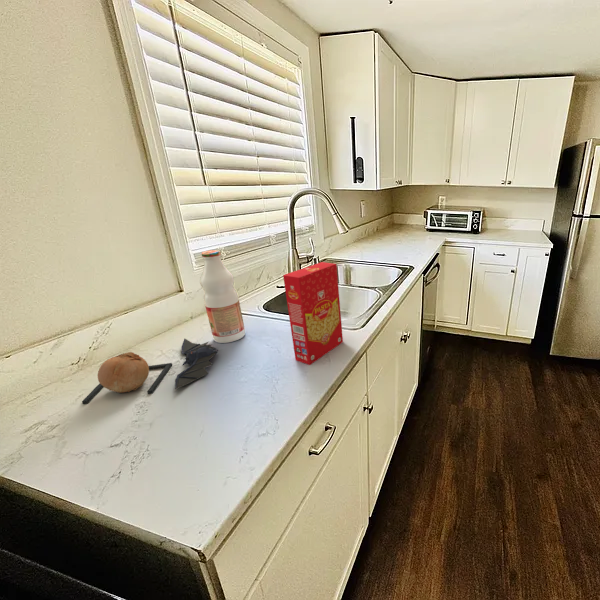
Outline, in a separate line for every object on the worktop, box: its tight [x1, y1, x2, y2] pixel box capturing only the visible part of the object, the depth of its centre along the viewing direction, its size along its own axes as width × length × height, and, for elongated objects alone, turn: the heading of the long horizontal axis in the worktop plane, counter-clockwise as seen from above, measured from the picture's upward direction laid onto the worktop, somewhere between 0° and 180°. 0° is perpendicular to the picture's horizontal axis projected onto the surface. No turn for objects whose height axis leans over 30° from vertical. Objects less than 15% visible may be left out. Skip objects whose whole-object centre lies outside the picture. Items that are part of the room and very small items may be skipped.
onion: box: [97, 351, 150, 394], centre depth 79 cm, size 10×9×10 cm
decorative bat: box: [174, 338, 219, 390], centre depth 91 cm, size 30×4×10 cm
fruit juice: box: [199, 249, 246, 344], centre depth 100 cm, size 9×9×28 cm
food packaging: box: [282, 261, 344, 366], centre depth 92 cm, size 15×5×25 cm, turn 152°
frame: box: [81, 362, 173, 405], centre depth 82 cm, size 14×13×1 cm
